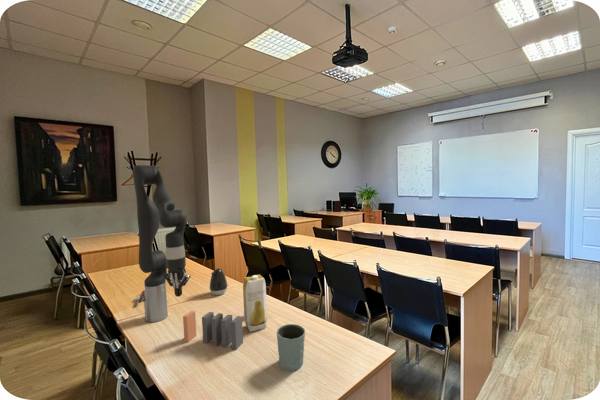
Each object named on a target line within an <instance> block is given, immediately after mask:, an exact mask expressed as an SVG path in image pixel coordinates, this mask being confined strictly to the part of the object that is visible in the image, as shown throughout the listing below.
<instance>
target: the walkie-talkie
mask: <svg viewBox="0 0 600 400" xmlns="http://www.w3.org/2000/svg"><path fill="white" fill-rule="evenodd" d="M145 301H146V298H145V289H144V290H143V291H141V294H139V295H138V296H137V295H136V298H135V305H134V306H135V307H138V304H139V303H142V302H145Z"/></svg>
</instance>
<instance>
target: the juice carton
mask: <svg viewBox="0 0 600 400" xmlns="http://www.w3.org/2000/svg"><path fill="white" fill-rule="evenodd" d="M266 285H267V284H266V280H265V278H264V277H263V276H262V275H261V274H254V275H251V276H246V277H244V276H243V284H242V292H243V293H242V294H243V296H242V297H243V315H244V317H243V318H244V323H245V326H246V328H247V329H248V331H249V332H250V333H252V332H255V331H258V330H263V329H265V328H267V325H268V324H267V323H268V310H267V309H268V306H267V305H268V304H267V288H266V287H267V286H266Z"/></svg>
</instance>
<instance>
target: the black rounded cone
mask: <svg viewBox="0 0 600 400" xmlns="http://www.w3.org/2000/svg"><path fill="white" fill-rule="evenodd" d="M227 288H228V281H227V278H226V276H225V273H224V271H223V269H222V268H214V270H213V271H212V272H211V276H210V281H209V290H210V293H211V294H213V295H214V296H221V295H224V294H225V293H226V292H227Z"/></svg>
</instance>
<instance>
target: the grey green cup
mask: <svg viewBox="0 0 600 400" xmlns="http://www.w3.org/2000/svg"><path fill="white" fill-rule="evenodd" d="M276 338H277V350H278V351H277V353H278V356H279V357H278V363H279V364H278V365H279V367H280V368H281V369H282V370H284V371H287V372H295V371H297V370H299V369H301V368H302V366H303V365H304V354H305V353H304V352H305V338H306V330H305V328H304V327H303V326H301V325H298V324H295V323H293V324H292V323H290V324H283V325H281V326H280V327H278V328H277V330H276Z"/></svg>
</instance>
